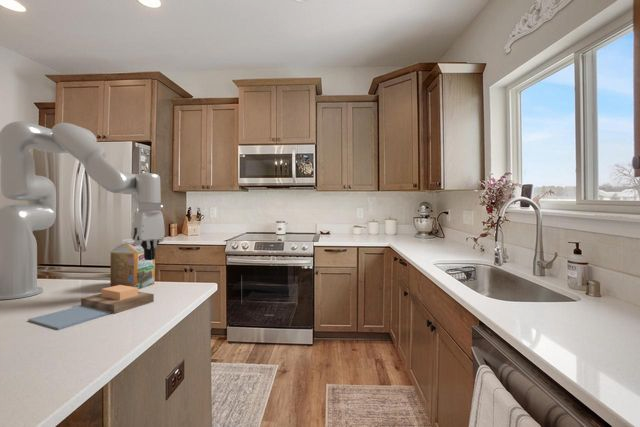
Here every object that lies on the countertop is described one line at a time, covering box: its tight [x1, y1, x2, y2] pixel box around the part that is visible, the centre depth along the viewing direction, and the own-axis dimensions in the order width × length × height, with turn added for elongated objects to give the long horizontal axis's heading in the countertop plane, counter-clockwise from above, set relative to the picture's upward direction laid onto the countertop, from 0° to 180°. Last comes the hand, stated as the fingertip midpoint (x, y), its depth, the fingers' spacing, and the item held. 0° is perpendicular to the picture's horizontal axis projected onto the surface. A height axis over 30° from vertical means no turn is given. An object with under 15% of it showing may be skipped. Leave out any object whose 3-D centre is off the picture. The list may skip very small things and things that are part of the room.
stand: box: [80, 290, 155, 315], centre depth 99 cm, size 16×13×2 cm
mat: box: [27, 304, 113, 331], centre depth 86 cm, size 14×13×1 cm
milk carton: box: [109, 238, 156, 290], centre depth 120 cm, size 11×11×19 cm
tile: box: [101, 285, 139, 300], centre depth 99 cm, size 9×6×2 cm, turn 67°
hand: (149, 259), depth 108 cm, fingers closed
